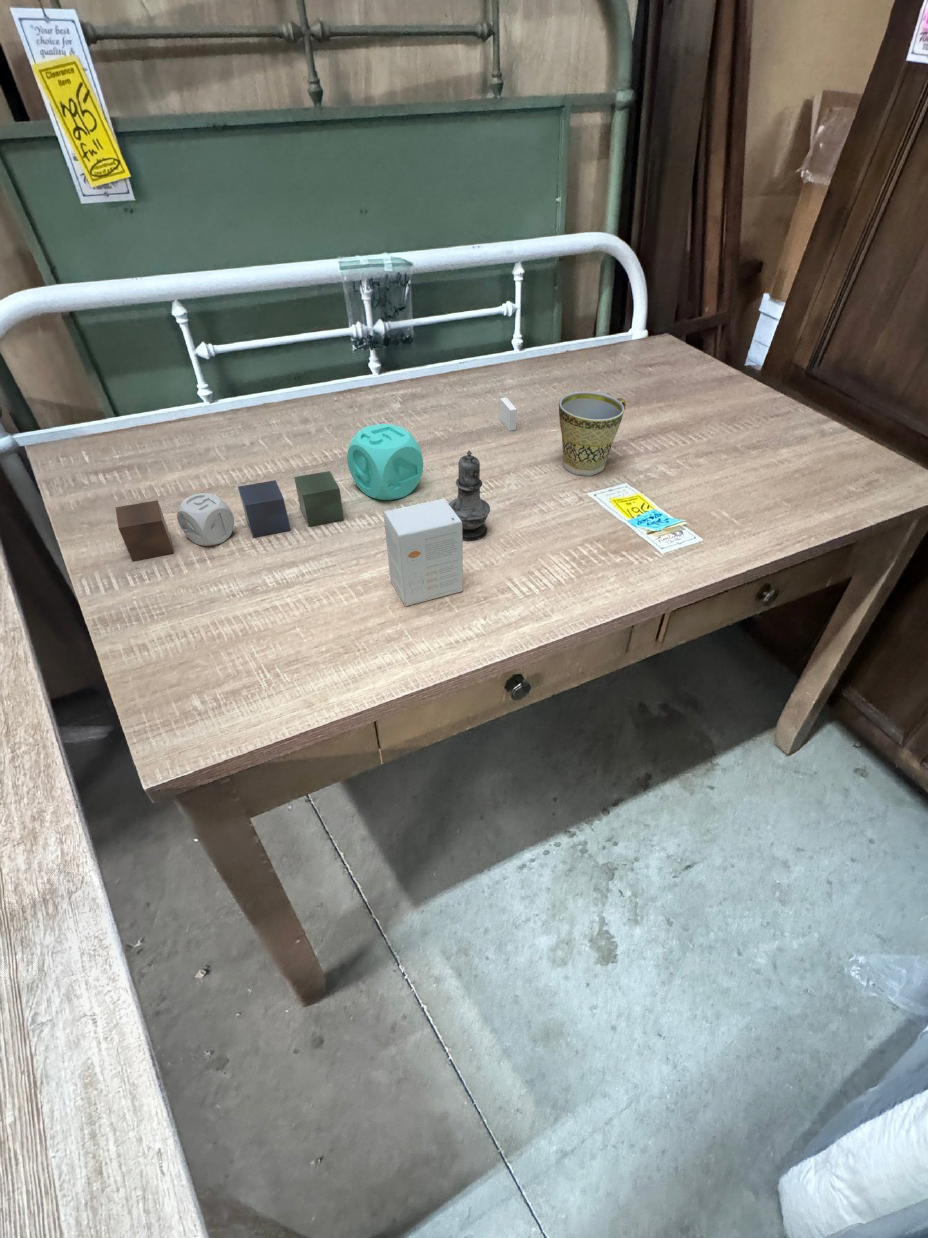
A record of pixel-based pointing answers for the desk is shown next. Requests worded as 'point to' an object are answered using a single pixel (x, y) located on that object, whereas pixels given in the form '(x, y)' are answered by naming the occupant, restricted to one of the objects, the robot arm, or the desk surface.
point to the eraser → (508, 414)
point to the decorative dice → (385, 461)
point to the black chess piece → (470, 499)
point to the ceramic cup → (588, 430)
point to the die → (205, 519)
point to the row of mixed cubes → (261, 508)
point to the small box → (424, 551)
